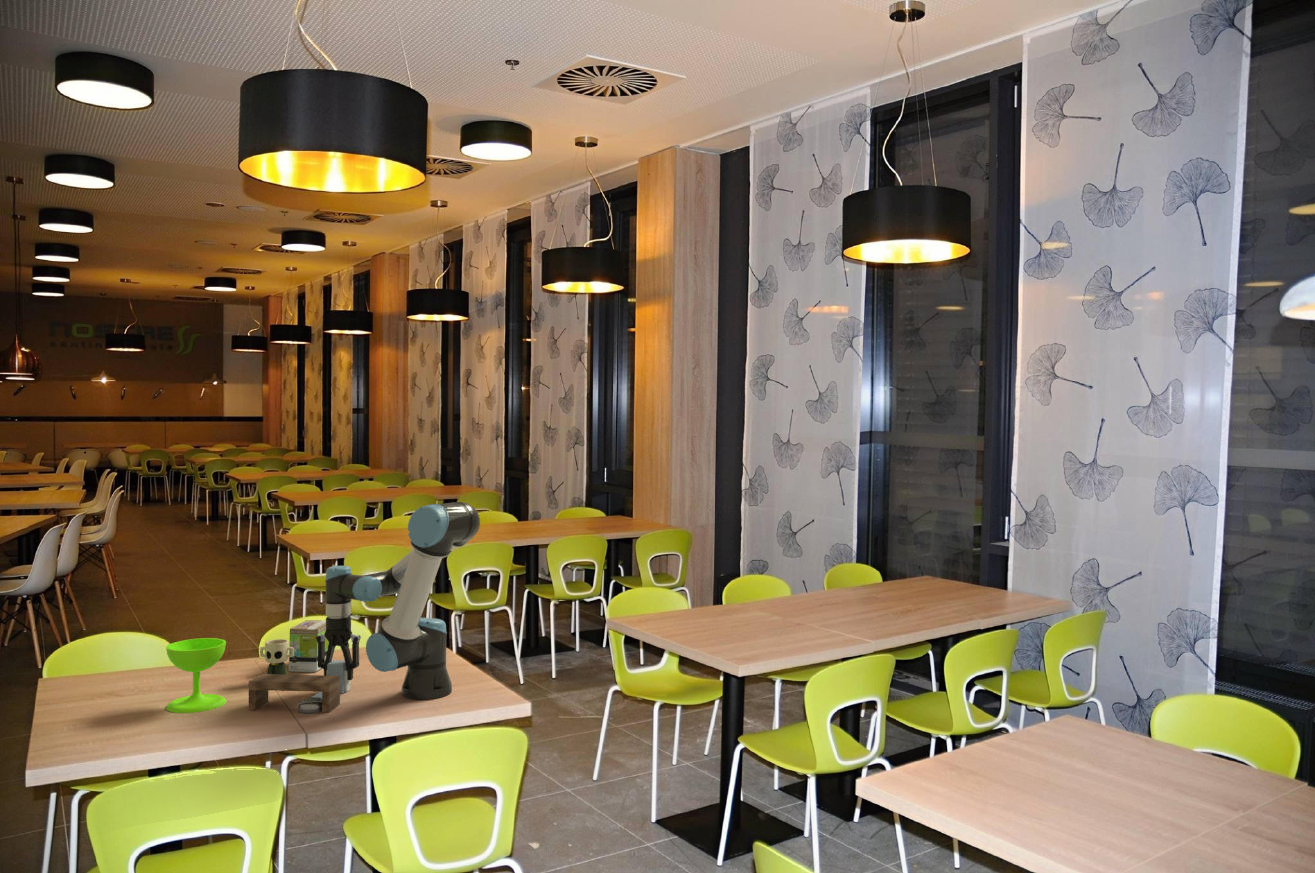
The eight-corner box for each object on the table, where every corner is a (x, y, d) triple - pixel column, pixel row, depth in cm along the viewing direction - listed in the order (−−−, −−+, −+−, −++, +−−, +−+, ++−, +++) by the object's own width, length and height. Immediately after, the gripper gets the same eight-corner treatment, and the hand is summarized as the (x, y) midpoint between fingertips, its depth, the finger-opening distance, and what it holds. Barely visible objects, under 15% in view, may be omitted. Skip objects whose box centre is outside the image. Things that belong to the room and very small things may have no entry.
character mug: (255, 684, 302) (255, 643, 302) (264, 678, 309) (264, 638, 309) (289, 684, 302) (289, 644, 302) (297, 678, 309) (297, 638, 309)
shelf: (339, 704, 282) (339, 675, 281) (328, 712, 274) (328, 683, 273) (261, 702, 283) (261, 673, 283) (248, 710, 275) (248, 681, 275)
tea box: (317, 672, 317) (317, 628, 316) (287, 672, 317) (287, 628, 317) (333, 661, 332) (333, 619, 332) (305, 660, 332) (305, 618, 332)
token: (327, 706, 279) (327, 698, 279) (319, 714, 272) (319, 705, 272) (303, 706, 279) (303, 698, 279) (295, 714, 272) (295, 705, 272)
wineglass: (157, 705, 280) (157, 644, 280) (212, 693, 292) (212, 635, 291) (179, 716, 269) (179, 653, 269) (235, 704, 281) (235, 644, 281)
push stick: (333, 688, 298) (334, 660, 298) (349, 688, 297) (349, 660, 297) (307, 705, 279) (307, 675, 279) (323, 706, 279) (323, 676, 279)
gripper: (371, 614, 298) (371, 687, 298) (315, 612, 299) (315, 685, 300) (361, 619, 290) (361, 694, 291) (305, 617, 292) (305, 692, 292)
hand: (338, 689), depth 295 cm, fingers closed on push stick, 5 cm apart
